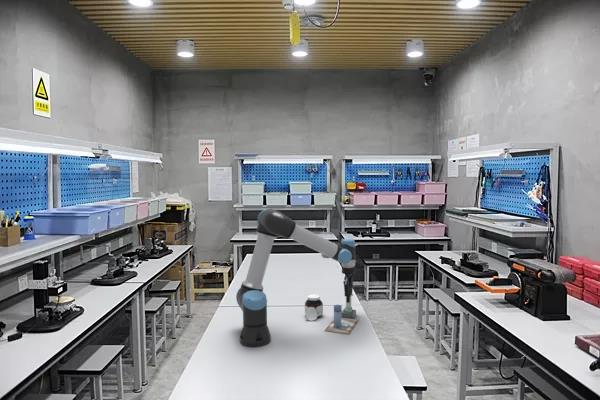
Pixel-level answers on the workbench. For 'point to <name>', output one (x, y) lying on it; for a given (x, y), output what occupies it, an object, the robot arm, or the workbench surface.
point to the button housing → (348, 314)
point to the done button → (348, 310)
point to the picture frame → (343, 326)
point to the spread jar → (313, 307)
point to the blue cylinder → (337, 316)
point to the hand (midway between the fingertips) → (348, 307)
